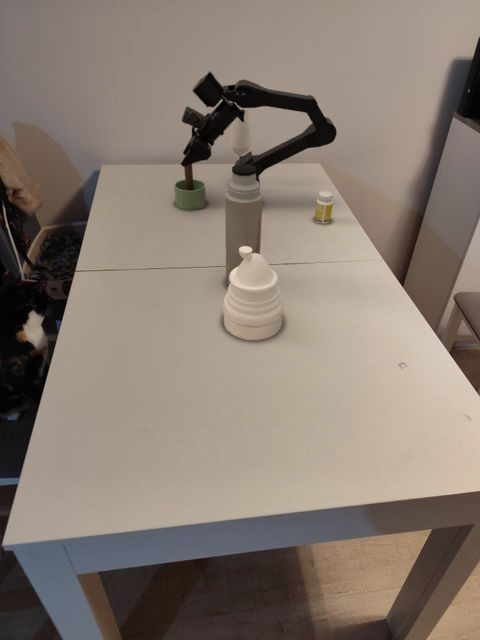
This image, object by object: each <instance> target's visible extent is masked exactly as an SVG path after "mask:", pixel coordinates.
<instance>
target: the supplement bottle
mask: <svg viewBox="0 0 480 640" xmlns="http://www.w3.org/2000/svg"><path fill="white" fill-rule="evenodd" d="M333 204H334V201H333V193H332V192H331V191H327V190H323V191H320V192H319V193H318V198H317V200H316V205H315V212H314V213H315V214H314V221H315V222H316V223H317V224H324V225H325V224H329V223H330V222H331V218H332V212H333Z"/></svg>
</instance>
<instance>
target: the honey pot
mask: <svg viewBox="0 0 480 640" xmlns="http://www.w3.org/2000/svg"><path fill="white" fill-rule="evenodd" d="M239 253H240V255H241V257H242V258H244V260H243V261H242V263H241V264H240V266H238V267H236V268H235V269H233V270H232V271H231V273H230V275H229V280H230V285H229V287H228V286H227V291H226V294H225V295H224V299H223V302H222V303H223V309H222V310H223V325H224V327H225V329H226V331H227V332H229V334H231V335H232V336H234V337H236V338H239V339H242V340H247V341H262V340H266V339H269V338H271V337H273V336H275V335H277V333H278V332H279V331H280V330H281V328H282V325H283V314H284V301H283V297H282V294H281V290H280V287H279V285H278V283H279V276H278V274H277V272H276V271H275V269H273V268H272V267H271V265H270V264H269V263H268V261H267V260H266V258H265V257H264V256H263V255H261V253H260V254H258V253H252V248H251V247H248V246H242V247H240V248H239Z"/></svg>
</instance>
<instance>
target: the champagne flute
mask: <svg viewBox="0 0 480 640" xmlns="http://www.w3.org/2000/svg"><path fill="white" fill-rule="evenodd" d="M237 106H238V105H237ZM238 107H239V106H238ZM239 109H244V110H245V114H244V122H242V121H241V120H240V119H239V118H238V117H237V118H236V119H235V120H234V121H233V122H232V123H231V125H230V138H229V139H230V142H229V146H230V148H231V150H232V151H233V153H235V154H236V155H237V156H238V157H239V156H244V155H246V154H247V153H248V152H249V149H250V148H251V131H250V117H249V116H250V115H249V108H241V107H239Z"/></svg>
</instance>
